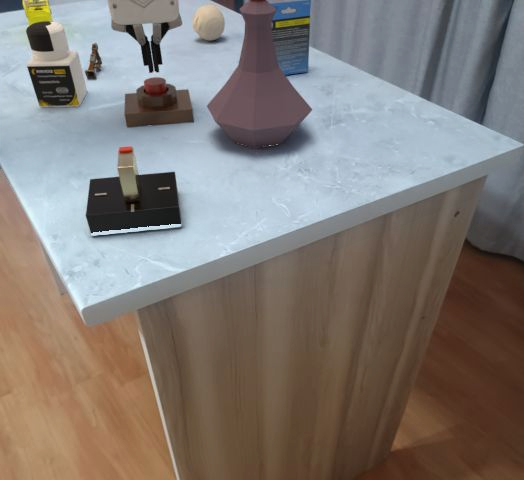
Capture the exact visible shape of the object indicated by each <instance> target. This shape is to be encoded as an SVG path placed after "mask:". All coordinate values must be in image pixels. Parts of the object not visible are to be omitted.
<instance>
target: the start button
mask: <svg viewBox="0 0 524 480" xmlns="http://www.w3.org/2000/svg"><path fill="white" fill-rule="evenodd" d="M166 84H167V79H165V78H164V77H158V76H157V77H148V78H146V79H145V80H143V85H144V87H145V93H146V94H151V95H157V94H163V93H166V92H167V86H166Z"/></svg>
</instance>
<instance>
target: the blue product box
mask: <svg viewBox="0 0 524 480" xmlns="http://www.w3.org/2000/svg"><path fill="white" fill-rule="evenodd" d="M270 4H271V5H272V6H273V7H274V8H275V9H276V13H275V15H274V17H273V20H272V22H271V27H272V38H273V43H274V47H275V51H276V55H277V60H278V64H279V67H280V69H281V70H282V71H283V73H284V74H285V76H288V75H294V74H302V73H303V74H304V73H308V72H309V57H310V35H311V32H310V31H311V7H312V0H293V1H282V2H274V3H270ZM288 8H290V10H295V11H293V12H285V13H282V11H285V10H287V9H288Z"/></svg>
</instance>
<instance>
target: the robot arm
mask: <svg viewBox="0 0 524 480" xmlns="http://www.w3.org/2000/svg"><path fill="white" fill-rule="evenodd" d="M179 3H180V2H179V0H107V4H108V11H109V13H110V17H111V23H110V24H111V25H110V26H111V27H110V28H111V29H112V30H113V31H115V32H120V33H126V34H128V35H129V36H131V38H132V39H134V40H135V41H136V42H137V43H138V45H139V46H140V50H141V58H142V63H143V66H144V67H147V66H148V73H149V74H153V73H154V72H155V73H160V66H161V65H163V57H162V50H161V49H162V48H161V42H162V40H163V39H164V37H165V36H166V34H168V32H169V31H171V30H174V29H176V28H179V27H182V26H183V19H182V16H181V14H180V4H179ZM146 24H152V34H151V36H150V40H149V38H148V36H147V35H146V33H145V29H144V26H143V25H146Z"/></svg>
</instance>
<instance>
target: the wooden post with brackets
mask: <svg viewBox="0 0 524 480" xmlns="http://www.w3.org/2000/svg"><path fill="white" fill-rule="evenodd" d="M102 65H103V61H102V57H101V56H100V53H99V45H98V43H97V42H93V43H91V53H90V56H89V65H88V68H87V69H85V70H84V74H85V76H86V79H88V80H97V75H96V72H97V73H98V72H101V68H102Z"/></svg>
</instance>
